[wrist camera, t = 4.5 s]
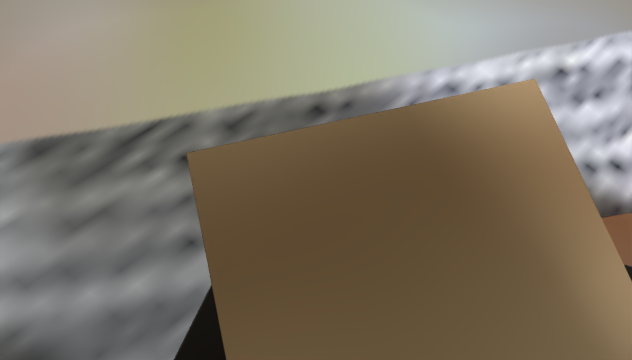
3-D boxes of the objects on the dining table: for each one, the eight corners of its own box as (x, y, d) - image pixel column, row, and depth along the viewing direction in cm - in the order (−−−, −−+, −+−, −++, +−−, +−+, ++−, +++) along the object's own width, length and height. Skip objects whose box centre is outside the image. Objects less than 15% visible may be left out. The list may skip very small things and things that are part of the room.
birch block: (388, 319, 15) (718, 463, 4) (281, 354, 14) (287, 675, 3) (356, 214, 16) (534, 79, 5) (255, 241, 16) (186, 152, 4)
